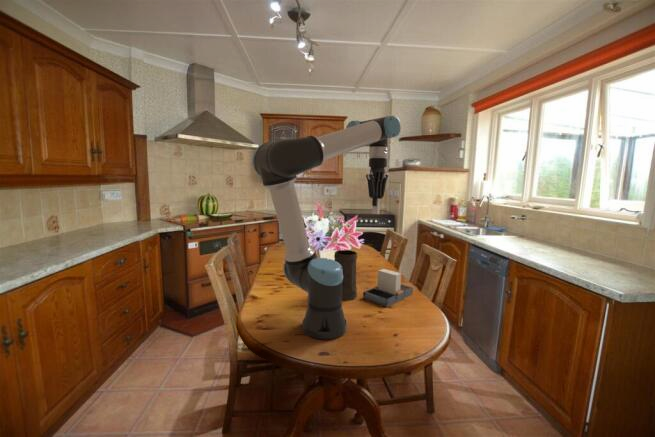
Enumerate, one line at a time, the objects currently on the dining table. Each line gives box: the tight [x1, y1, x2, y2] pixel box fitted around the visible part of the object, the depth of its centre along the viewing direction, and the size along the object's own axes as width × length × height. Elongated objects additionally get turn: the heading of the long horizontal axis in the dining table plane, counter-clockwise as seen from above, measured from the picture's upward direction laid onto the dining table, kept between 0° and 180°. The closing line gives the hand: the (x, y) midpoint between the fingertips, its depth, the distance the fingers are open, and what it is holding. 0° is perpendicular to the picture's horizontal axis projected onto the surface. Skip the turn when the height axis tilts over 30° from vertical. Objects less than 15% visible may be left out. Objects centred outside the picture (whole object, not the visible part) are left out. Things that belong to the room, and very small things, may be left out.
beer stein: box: [333, 249, 358, 301], centre depth 134 cm, size 15×11×20 cm
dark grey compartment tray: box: [362, 283, 414, 308], centre depth 133 cm, size 20×12×4 cm, turn 135°
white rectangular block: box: [377, 268, 402, 295], centre depth 133 cm, size 4×9×10 cm, turn 47°
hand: (375, 213), depth 130 cm, fingers closed
